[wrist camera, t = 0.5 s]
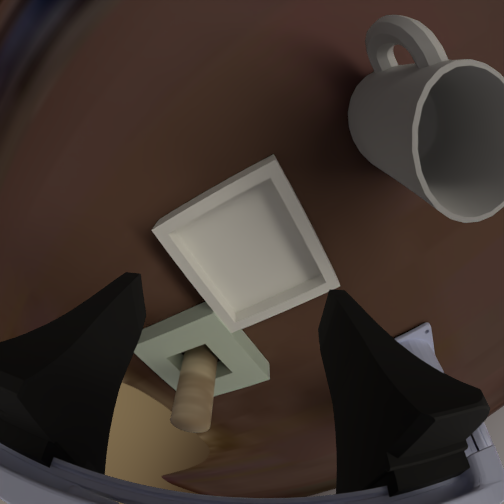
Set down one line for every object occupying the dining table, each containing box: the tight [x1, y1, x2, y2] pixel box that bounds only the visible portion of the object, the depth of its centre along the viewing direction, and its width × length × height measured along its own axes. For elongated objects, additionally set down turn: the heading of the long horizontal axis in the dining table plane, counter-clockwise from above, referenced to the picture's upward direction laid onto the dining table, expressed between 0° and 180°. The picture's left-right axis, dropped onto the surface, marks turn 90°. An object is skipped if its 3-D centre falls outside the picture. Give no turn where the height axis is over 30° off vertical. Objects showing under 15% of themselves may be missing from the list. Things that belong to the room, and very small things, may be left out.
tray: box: [152, 154, 340, 333], centre depth 21 cm, size 10×9×2 cm
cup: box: [348, 15, 504, 223], centre depth 13 cm, size 7×10×9 cm
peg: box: [170, 344, 218, 433], centre depth 23 cm, size 3×3×8 cm
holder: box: [134, 302, 270, 396], centre depth 26 cm, size 9×9×2 cm
